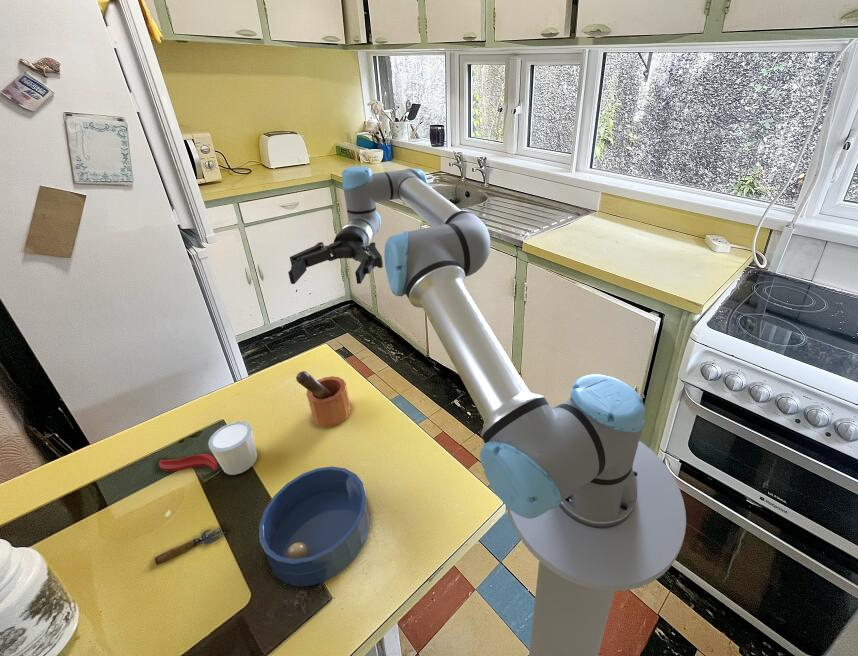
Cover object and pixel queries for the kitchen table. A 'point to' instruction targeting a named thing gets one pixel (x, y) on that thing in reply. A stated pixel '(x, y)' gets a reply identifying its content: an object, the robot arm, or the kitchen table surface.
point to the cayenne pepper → (188, 462)
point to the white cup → (234, 447)
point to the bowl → (316, 525)
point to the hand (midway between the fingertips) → (324, 278)
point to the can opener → (188, 545)
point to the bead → (297, 551)
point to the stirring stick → (313, 385)
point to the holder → (330, 403)
